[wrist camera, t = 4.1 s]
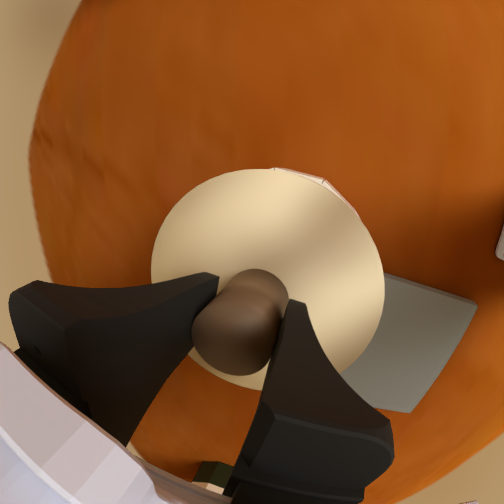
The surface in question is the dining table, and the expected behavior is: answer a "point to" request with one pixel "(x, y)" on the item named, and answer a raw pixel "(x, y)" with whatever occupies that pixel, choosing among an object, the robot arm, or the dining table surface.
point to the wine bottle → (213, 476)
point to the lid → (271, 269)
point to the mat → (409, 344)
